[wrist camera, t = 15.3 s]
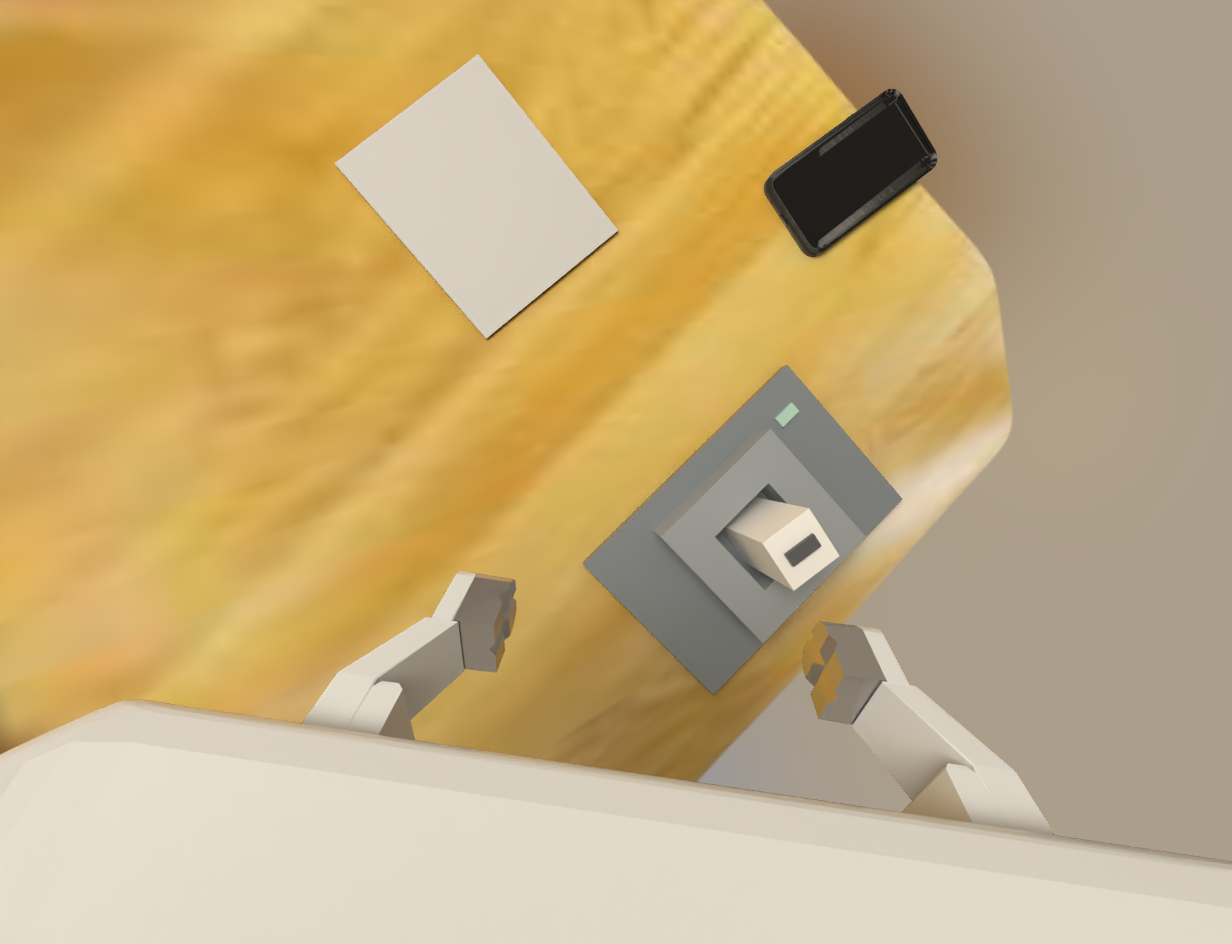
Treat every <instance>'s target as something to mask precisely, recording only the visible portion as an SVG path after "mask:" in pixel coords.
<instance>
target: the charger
mask: <svg viewBox="0 0 1232 944" xmlns="http://www.w3.org/2000/svg"><path fill="white" fill-rule="evenodd" d="M722 530H723V531H724V533H725V534H726V536H727V537H728V539H729V540H730V542H731V543H732V545H733V546H734V548H735V549H736V551H737V552H738V554H739V555H740V557H741V558H742V560H743V561H744V563H746V564H748V565H750V566H751V567H753V568H755V569H757V570H758V571H760V572H762V573H764V574H765V575H767V576H769V577H771V578H772V579H774V580H776V581H778V582H779V583H781V584H783V585H784V586H786V587H788V588H790V589H791V590H793V591H794V590H795V589H797V588H798V587H799V586H801V585H802V584H803V583H805V582H806V581H807V580H809V579H810V578H811V577H813V576H814V575H815V574H817V573H818V572H819V571H821V570H822V569H823V568H824V567H826V566H827V565H828V564H830V563H831V562H832V561H834V560H835V559H836V558H838V557H839V554H838V553H837V551H836V549H835V548H834V546H833V545H832V543H831V542H830V540H829V538H828V537H827V535H826V534H825V532H824V531H823V529H822V527H821V526H820V524H819V523H818V521H817V520H816V518H815V516H814V515H813V513H812V512H811V510H810V509H809V508H805V507H801V506H796V505H791V504H786V503H782V502H777V501H772V500H767V499H763V498H758V497H756V498H755V499H753V500H752V501H751V502H749V503H748V504H747V505H746V506H745V507H744V508H743V509H742V510H741V511H740V512H739V513H738V514H737V515H736V516H735V517H734V518H733V519H732V520H731V521H730V522H729V523H728V524H727V525H726V526H725V527H724V528H723V529H722Z"/></svg>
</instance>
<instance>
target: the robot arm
mask: <svg viewBox="0 0 1232 944" xmlns="http://www.w3.org/2000/svg"><path fill="white" fill-rule="evenodd" d="M515 590H516V584H515V580H514V579H509V578H503V577H497V576H490V575H484V574H476V573H470V572H464V571H459V572H458V573H457V574H456V575H455V577H454V578H453V580H452V582H451V584H450V586H449V587H448V589H447V591H446V593H445V594H444V596H443V598H442V600H441V601H440V603H439V605H438V607H437V608H436V610H435V612H434V614H433V616H432V617H431V618H430V617H425V618H423V619H422V620H420V621H419V622H417V623H416V624H414V625H412V626H411V627H409V628H408V629H406V630H404V631H403V632H401V633H400V634H398V635H396V636H395V637H393V638H392V639H390V640H389V641H387V642H385V643H384V644H382V645H381V646H379V647H377V648H376V649H374V650H373V651H371V652H369V653H368V654H366V655H365V656H363V657H362V658H360V659H358V660H357V661H355V662H354V663H352V664H350V665H349V666H347V667H346V668H344V669H343V670H341V671H339V672H338V673H337V674H336V676H335V677H334V678H333V680H332V681H331V683H330V684H329V686H328V687H327V688H326V690H325V691H324V693H323V694H322V696H321V697H320V698H319V700H318V701H317V703H316V704H315V705H314V707H313V708H312V710H311V711H310V713H309V714H308V715H307V717H306V718H305V720H304V721H303V723H296V722H290V721H283V720H276V719H269V718H263V717H256V716H249V715H243V714H236V713H229V712H222V711H216V710H209V709H202V708H196V707H189V706H182V705H176V704H170V703H164V702H157V701H151V700H142V699H131V700H124V701H120V702H117V703H114V704H111V705H109V706H106V707H104V708H101V709H98V710H96V711H93V712H91V713H89V714H87V715H85V716H82V717H80V718H78V719H76V720H73V721H71V722H69V723H67V724H64V725H62V726H60V727H58V728H56V729H53V730H51V731H49V732H47V733H45V734H43V735H41V736H38V737H36V738H34V739H32V740H30V741H28V742H26V743H23V744H21V745H19V746H17V747H15V748H13V749H11V750H9V751H7V752H5V753H3V754H1V755H0V944H1232V861H1226V860H1220V859H1213V858H1206V857H1200V856H1193V855H1186V854H1179V853H1172V852H1166V851H1158V850H1151V849H1145V848H1139V847H1131V846H1125V845H1118V844H1112V843H1105V842H1098V841H1091V840H1084V839H1078V838H1071V837H1064V836H1058V835H1055V834H1054V833H1053V831H1052V829H1051V828H1050V826H1049V825H1048V823H1047V822H1046V820H1045V818H1044V817H1043V815H1042V814H1041V812H1040V810H1039V809H1038V807H1037V806H1036V804H1035V802H1034V801H1033V799H1032V798H1031V796H1030V794H1029V793H1028V791H1027V790H1026V788H1025V787H1024V785H1023V783H1022V782H1021V780H1020V778H1019V777H1018V775H1017V774H1016V772H1015V771H1014V770H1013V769H1012V768H1010V767H1009V766H1008V765H1007V764H1006V763H1005V762H1003V761H1002V760H1001V759H1000V758H999V757H998V756H996V755H995V754H994V753H993V752H992V751H991V750H989V749H988V748H987V747H986V746H985V745H984V744H982V743H981V742H980V741H979V740H978V739H977V738H975V737H974V736H973V735H972V734H971V733H970V732H969V731H967V730H966V729H965V728H964V727H963V726H962V725H960V724H959V723H958V722H957V721H956V720H955V719H953V718H952V717H951V716H950V715H949V714H948V713H946V712H945V711H944V710H943V709H942V708H941V707H939V706H938V705H937V704H936V703H935V702H933V701H932V700H931V699H930V698H929V697H928V696H927V695H925V694H924V693H923V692H922V691H921V690H920V689H918V688H917V687H916V686H911V685H909V683H908V681H907V679H906V677H905V675H904V673H903V672H902V670H901V667H900V666H899V664H898V662H897V660H896V658H895V656H894V654H893V652H892V650H891V649H890V647H889V645H888V643H887V641H886V639H885V637H884V635H883V634H882V632H881V631H880V630H879V629H875V628H868V627H860V626H853V625H845V624H837V623H830V622H822V621H819V622H818V623H816V624H815V626H814V628H813V630H812V631H813V634H814V638H812V639H811V640H809V641H807V642H806V645H805V647H804V649H803V656H802V664H803V670H804V673H805V677H806V679H807V680H808V681H809V682H810V683H811V684H812V685H813V686H814V688H813V690H812V693H811V697H812V700H813V703H814V706H815V709H816V712H817V716H818V719H823V720H828V721H834V722H840V723H846V724H851V725H852V727H853V728H854V729H855V731H856V732H857V733H858V735H859V736H860V737H861V738H862V740H863V741H864V742H865V743H866V744H867V745H868V747H869V748H870V749H871V751H872V752H873V753H874V754H875V756H876V757H877V758H878V759H879V761H880V762H881V763H882V764H883V765H884V767H885V768H886V769H887V770H888V771H889V773H890V774H891V775H892V776H893V778H894V779H895V780H896V781H897V783H898V784H899V785H900V786H901V787H902V789H903V790H904V791H905V793H906V794H907V795H908V796H909V798H910V799H911V800H912V802H911V803H910V804H909V805H908V806H907V807H906V808H905V809H904V810H903V811H902V812H896V811H889V810H882V809H876V808H868V807H862V806H855V805H849V804H842V803H835V802H828V801H822V800H814V799H808V798H801V797H795V796H788V795H781V794H774V793H767V792H761V791H754V790H747V789H740V788H734V787H727V786H720V785H714V784H706V783H699V782H693V781H687V780H680V779H673V778H666V777H659V776H653V775H646V774H639V773H632V772H625V771H619V770H612V769H605V768H598V767H592V766H585V765H578V764H571V763H565V762H558V761H551V760H545V759H538V758H531V757H524V756H518V755H511V754H504V753H497V752H491V751H484V750H477V749H471V748H464V747H457V746H450V745H444V744H437V743H430V742H423V741H417V740H415V738H414V734H413V730H412V726H411V722H410V720H411V719H412V718H413V717H414V716H415V715H417V714H418V713H419V712H420V711H421V710H422V709H423V708H424V707H425V706H426V705H427V704H429V703H430V702H431V701H432V700H433V699H434V698H435V697H436V696H437V695H438V694H439V693H441V692H442V691H443V690H444V689H445V688H446V687H447V686H448V685H449V684H450V683H451V682H453V681H454V680H455V679H456V678H457V677H458V676H459V675H460V674H461V673H462V672H463V671H464V669H471V670H479V671H488V672H497V670H498V667H499V665H500V662H501V659H502V656H503V654H504V651H505V644H504V640H505V639H506V638H508V637H509V636H510V634H511V631H512V628H513V624H514V620H515V615H516V600H515V599H514V598H513V596H514V593H515Z"/></svg>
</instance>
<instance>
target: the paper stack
mask: <svg viewBox="0 0 1232 944" xmlns="http://www.w3.org/2000/svg"><path fill="white" fill-rule="evenodd" d="M334 164H335V165H336V166H337V167H338V168H339V169H340V171H341V172H342V173H343V174H344V175H345V176H346V177H347V179H348V180H349V181H350V182H351V183H352V184H353V186H354V187H355V188H356V189H357V190H358V191H359V192H360V194H361V195H362V196H363V197H364V198H365V199H366V201H367V202H368V203H369V204H370V205H371V206H372V207H373V209H374V210H375V211H376V212H377V213H378V214H379V216H380V217H381V218H382V219H383V220H384V221H385V222H386V224H387V225H388V226H389V227H390V228H391V229H392V231H393V232H394V233H395V234H396V235H397V236H398V237H399V239H400V240H401V241H402V242H403V243H404V244H405V246H406V247H407V248H408V249H409V250H410V251H411V253H412V254H413V255H414V256H415V257H416V258H417V259H418V261H419V262H420V263H421V264H422V265H423V266H424V268H425V269H426V270H427V271H428V272H429V273H430V274H431V276H432V277H433V278H434V279H435V280H436V281H437V283H438V284H439V285H440V286H441V287H442V288H443V289H444V291H445V292H446V293H447V294H448V295H449V296H450V298H451V299H452V300H453V301H454V302H455V303H456V304H457V306H458V307H459V308H460V309H461V310H462V311H463V313H464V314H465V315H466V316H467V317H468V318H469V319H470V321H471V322H472V323H473V324H474V325H475V326H476V328H477V329H478V330H479V331H480V332H481V333H482V334H483V336H484V337H485V338H486V339H487V338H488V337H489V336H490V335H491V334H493V333H494V332H495V331H496V330H498V329H499V328H500V327H501V326H502V325H504V324H505V323H506V322H507V321H509V320H510V319H511V318H512V317H513V316H515V315H516V314H517V313H518V312H519V311H521V310H522V309H523V308H524V307H526V306H527V305H528V304H529V303H530V302H532V301H533V300H534V299H535V298H537V297H538V296H539V295H540V294H541V293H543V292H544V291H545V290H546V289H548V288H549V287H550V286H551V285H552V284H554V283H555V282H556V281H557V280H558V279H560V278H561V277H562V276H563V275H565V274H566V273H567V272H568V271H569V270H571V269H572V268H573V267H574V266H576V265H577V264H578V263H579V262H580V261H582V260H583V259H584V258H585V257H586V256H588V255H589V254H590V253H591V252H593V251H594V250H595V249H596V248H597V247H599V246H600V245H601V244H602V243H604V242H605V241H606V240H607V239H608V238H610V237H611V236H612V235H613V234H615V233H616V232H617V231H618V229H617V228H616V227H615V226H614V224H613V223H612V222H611V221H610V219H609V218H608V217H607V216H606V214H605V213H604V212H603V211H602V209H601V208H600V207H599V206H598V204H597V203H596V202H595V200H594V199H593V198H592V197H591V195H590V194H589V193H588V192H587V190H586V189H585V188H584V187H583V185H582V184H581V183H580V182H579V180H578V179H577V178H576V177H575V175H574V174H573V173H572V172H571V170H570V169H569V168H568V167H567V165H566V164H565V163H564V162H563V160H562V159H561V158H560V157H559V155H558V154H557V153H556V151H555V150H554V149H553V148H552V146H551V145H550V144H549V143H548V141H547V140H546V139H545V138H544V136H543V135H542V134H541V133H540V131H539V130H538V129H537V128H536V126H535V125H534V124H533V123H532V121H531V120H530V119H529V118H528V116H527V115H526V114H525V113H524V111H523V110H522V109H521V108H520V106H519V105H518V104H517V102H516V101H515V100H514V99H513V97H512V96H511V95H510V94H509V92H508V91H507V90H506V89H505V87H504V86H503V85H502V84H501V82H500V81H499V80H498V79H497V77H496V76H495V75H494V74H493V72H492V71H491V70H490V69H489V67H488V66H487V65H486V64H485V62H484V61H483V60H482V59H481V57H480V56H479V55H476V56H475V57H474V58H472V59H471V60H470V61H468V62H467V63H466V64H465V65H463V66H462V67H461V68H459V69H458V70H457V71H455V72H454V73H453V74H451V75H450V76H449V77H447V78H446V79H445V80H444V81H442V82H441V83H440V84H438V85H437V86H436V87H434V88H433V89H432V90H430V91H429V92H428V93H426V94H425V95H424V96H422V97H421V98H420V99H419V100H417V101H416V102H415V103H413V104H412V105H411V106H409V107H408V108H407V109H405V110H404V111H403V112H401V113H400V114H399V115H398V116H396V117H395V118H394V119H392V120H391V121H390V122H388V123H387V124H386V125H384V126H383V127H382V128H380V129H379V130H378V131H376V132H375V133H374V134H373V135H371V136H370V137H369V138H367V139H366V140H365V141H363V142H362V143H361V144H359V145H358V146H357V147H355V148H354V149H353V150H352V151H350V152H349V153H348V154H346V155H345V156H344V157H342V158H341V159H340V160H338V161H337V162H336V163H334Z"/></svg>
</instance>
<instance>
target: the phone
mask: <svg viewBox="0 0 1232 944" xmlns="http://www.w3.org/2000/svg"><path fill="white" fill-rule="evenodd" d="M936 163H937V153H936V151H935V149H934V147H933V146H932V144H931V142H930V141H929V139H928V138H927V136H926V134H925V132H924V131H923V129H922V128H921V126H920V124H919V122H918V121H917V119H916V117H915V116H914V114H913V112H912V110H911V109H910V107H909V105H908V104H907V102H906V100H905V99H904V97H903V95H902V94H901V93H900V92H899V91H898V90H895V89H888V90H886V91H884V92H883V93H882V94H880V95H879V96H878V97H876V98H875V99H873V100H872V101H871V102H869V103H868V104H867V105H865V106H864V107H862V108H861V109H859V110H858V111H857V112H856V113H854V114H852V115H851V116H849V117H848V118H847V119H846V120H845V121H843V122H842V123H840V124H839V125H838V126H836V127H835V128H833V129H832V130H831V131H829V132H828V133H827V134H825V135H824V136H822V137H821V138H820V139H818V140H817V141H816V142H814V143H813V144H811V145H810V146H809V147H807V148H806V149H805V150H803V151H802V152H800V153H799V154H798V155H796V156H795V157H794V158H792V159H791V160H789V161H788V162H787V163H785V164H784V165H783V166H781V167H780V168H778V169H777V170H776V171H774V172H773V173H772V174H771V175H770V176H769V178H768V179H767V180H766V182H765V184H764V193H765V195H766V197H767V199H768V200H769V202H770V203H771V205H772V206H773V208H774V209H775V211H776V213H777V214H778V216H779V217H780V219H781V220H782V222H783V223H784V225H785V226H786V228H787V229H788V231H789V232H790V234H791V235H792V237H793V239H794V240H795V242H796V243H797V245H798V246H799V248H800V249H801V251H802V252H803V253H804V254H805V255H807V256H810V257H815V256H817V255H819V254H820V253H822V252H823V251H824V250H826V249H827V248H828V247H830V246H831V245H832V244H834V243H835V242H836V241H838V240H839V239H840V238H842V237H843V236H844V235H846V234H847V233H848V232H850V231H851V230H852V229H854V228H855V227H856V226H858V225H859V224H860V223H862V222H863V221H864V220H866V219H867V218H868V217H870V216H871V215H872V214H874V213H875V212H876V211H878V210H879V209H880V208H882V207H883V206H884V205H885V204H887V203H888V202H889V201H891V200H892V199H893V198H895V197H896V196H897V195H899V194H900V193H901V192H903V191H904V190H905V189H907V188H908V187H909V186H911V185H912V184H913V183H915V182H916V181H917V180H919V179H920V178H921V177H923V176H924V175H925V174H927V173H928V172H929V171H931V170H932V169H933V168H934V167H935V165H936ZM771 201H772V202H771ZM781 215H783V217H784V218H785V220H786V221H787V223H788V225H787V223H786V222H785V220H784V219H783V217H782V216H781Z"/></svg>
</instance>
